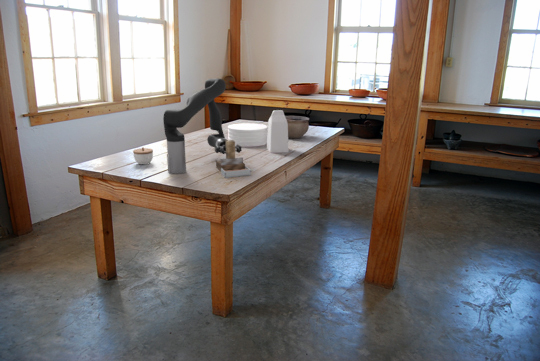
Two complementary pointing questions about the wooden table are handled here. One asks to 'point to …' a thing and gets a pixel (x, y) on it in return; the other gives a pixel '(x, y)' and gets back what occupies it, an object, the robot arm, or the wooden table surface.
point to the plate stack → (248, 134)
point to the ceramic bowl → (297, 126)
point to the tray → (236, 173)
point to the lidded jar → (143, 155)
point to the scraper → (231, 154)
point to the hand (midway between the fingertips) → (231, 151)
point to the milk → (277, 132)
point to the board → (229, 166)
